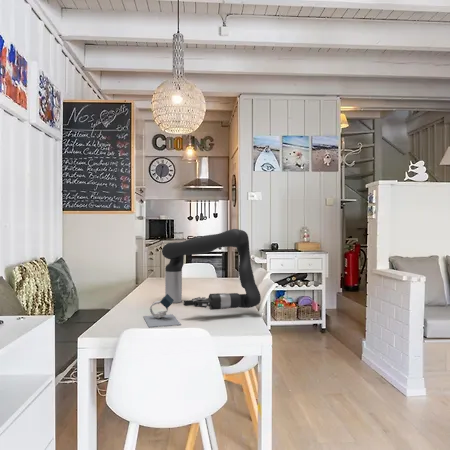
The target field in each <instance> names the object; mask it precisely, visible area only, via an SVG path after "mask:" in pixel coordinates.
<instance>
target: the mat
mask: <svg viewBox="0 0 450 450" xmlns="http://www.w3.org/2000/svg"><path fill="white" fill-rule="evenodd" d="M142 316H143V319H144V321H145V323H146V325H147V327H148V328H149V329H150V328H159V327H158V326H164V327H173V326H172V325H177V326H182V324H181V323H180V321H179V320H178V318H177V317H176V316H175V315H174V314H173V313H172V314H171V313H170V314H169V313H168V314H166V315H165V316H163V317H161V318H156V317H154V316H153V315H152V314H151V315H142Z"/></svg>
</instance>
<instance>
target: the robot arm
mask: <svg viewBox="0 0 450 450" xmlns="http://www.w3.org/2000/svg"><path fill="white" fill-rule="evenodd" d="M248 235H249V234H248V233H247V232H246V231H244V230H243V229H239V228H231V229H229V230H225V231H222V232H219V233H214V234H208V235H207V234H206V235H202V236H197V237H193V238H191V239H187V240H184V241H179V242H177V241H176V242H174V241H173V242H168V243H165V245H163V247H162V248H161V254H162V256H163V257H164V258H166V259H168V260H169V263H167V264H166V265H165V273H164V274H165V279H164V280H165V282H164V283H165V289H164V290H165V292H164V296H166V295H167V294H168V295H169V296H170V297H171V298H172V299H173V300H174V301H173V303H172V304H177V303H181V302H182V301H183V306H184V307H189V306H192V307H197V308H207V307H208V308H209V309H210V310H212V311H215V310H217V311H218V310H226V309H236V308H238V309H239V308H243V309H248V308H254V307H256V306H258V305H260V303H261V300H262V299H261V297H262V296H261V293H260V291H259V288H258V285H257V283H256V281H255V275H254V272H253V267H252V263H251V253H250V240H249V236H248ZM230 247H231V248H236V250H237V252H238V257H239V259H238V261H239V262H238V276H239V281H240V286H241V288H242V289H244V291H245V293H241V294H240V293H238V292H231V293H227V292H222V293H219V292H218V293H217V292H216V293H209V295H208V297H207V298H206V297H205V296H202V297H201V296H198V297H194V298H192V299H191V300H189V299H188V300H187V299H186V300H183V299H182V298H183V295H182V294H183V266H184V261H185V259H184V258H185V256H192V255H193V256H194V255H195V256H196V255H203V254H208V253H211V252H213V251H215V250H218V249H221V248H230Z"/></svg>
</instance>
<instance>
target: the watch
mask: <svg viewBox="0 0 450 450" xmlns="http://www.w3.org/2000/svg"><path fill="white" fill-rule="evenodd" d="M173 301H174V300H173V299H172V298H171V297H170V296H169V295H168V294H167V295H166V296H165V295H164V296H163V297H162V298H161V299H160V300H155V301H154V302H153V303H152V304H150V307H149V313H150V314H151V316H152V315H153V316H154V317H156V318H161V317H163V316H165V315H167V313H168V310H169V307H170V306H171V305H172V304H174V303H173ZM159 304H161V305H162V306H164V308H165V309H166V310H165V311H164V310H162V311H158V312H156V313H155V312H154V311H153V306H155V305H159Z"/></svg>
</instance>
